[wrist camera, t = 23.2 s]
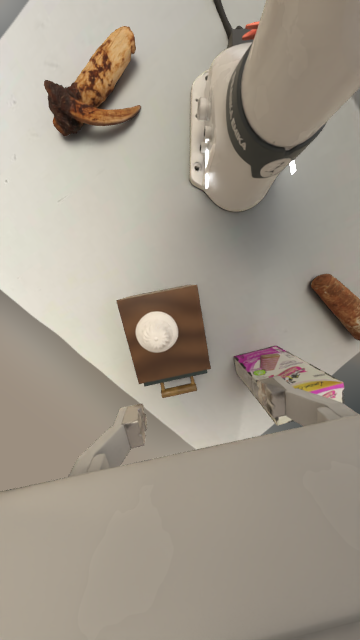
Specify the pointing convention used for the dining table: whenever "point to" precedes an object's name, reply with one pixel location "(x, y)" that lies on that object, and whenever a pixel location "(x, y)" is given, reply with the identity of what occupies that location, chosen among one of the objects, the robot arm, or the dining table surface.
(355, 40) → the robot arm
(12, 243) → the dining table surface
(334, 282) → the bread
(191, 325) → the cabinet
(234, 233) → the dining table surface
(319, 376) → the candy bar box
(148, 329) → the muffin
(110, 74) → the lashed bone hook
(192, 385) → the drawer
